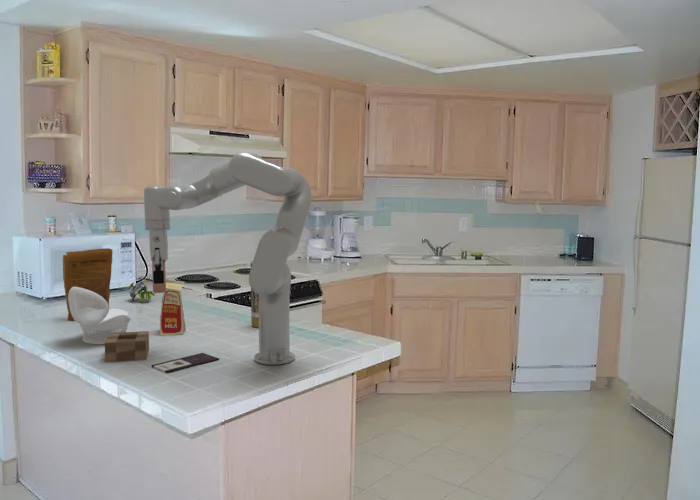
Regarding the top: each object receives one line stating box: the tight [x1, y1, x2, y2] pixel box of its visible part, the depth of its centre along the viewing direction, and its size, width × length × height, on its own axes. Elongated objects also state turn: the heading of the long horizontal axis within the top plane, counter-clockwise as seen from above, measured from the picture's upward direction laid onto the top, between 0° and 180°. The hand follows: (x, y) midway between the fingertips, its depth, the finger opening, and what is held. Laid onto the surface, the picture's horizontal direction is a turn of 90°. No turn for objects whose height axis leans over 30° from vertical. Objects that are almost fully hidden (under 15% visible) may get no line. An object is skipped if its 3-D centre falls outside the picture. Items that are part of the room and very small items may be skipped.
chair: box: [68, 287, 131, 345], centre depth 211 cm, size 20×20×20 cm
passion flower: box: [127, 278, 156, 304], centre depth 278 cm, size 11×11×12 cm
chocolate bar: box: [150, 352, 220, 374], centre depth 187 cm, size 9×1×18 cm
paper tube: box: [250, 260, 259, 328], centre depth 232 cm, size 7×7×25 cm
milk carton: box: [159, 278, 187, 337], centre depth 223 cm, size 9×9×20 cm
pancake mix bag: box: [62, 247, 113, 322], centre depth 242 cm, size 7×19×28 cm, turn 125°
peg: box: [151, 259, 167, 294], centre depth 195 cm, size 4×4×12 cm
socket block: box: [104, 330, 150, 363], centre depth 194 cm, size 12×12×6 cm
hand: (159, 281), depth 195 cm, fingers closed on peg, 4 cm apart
